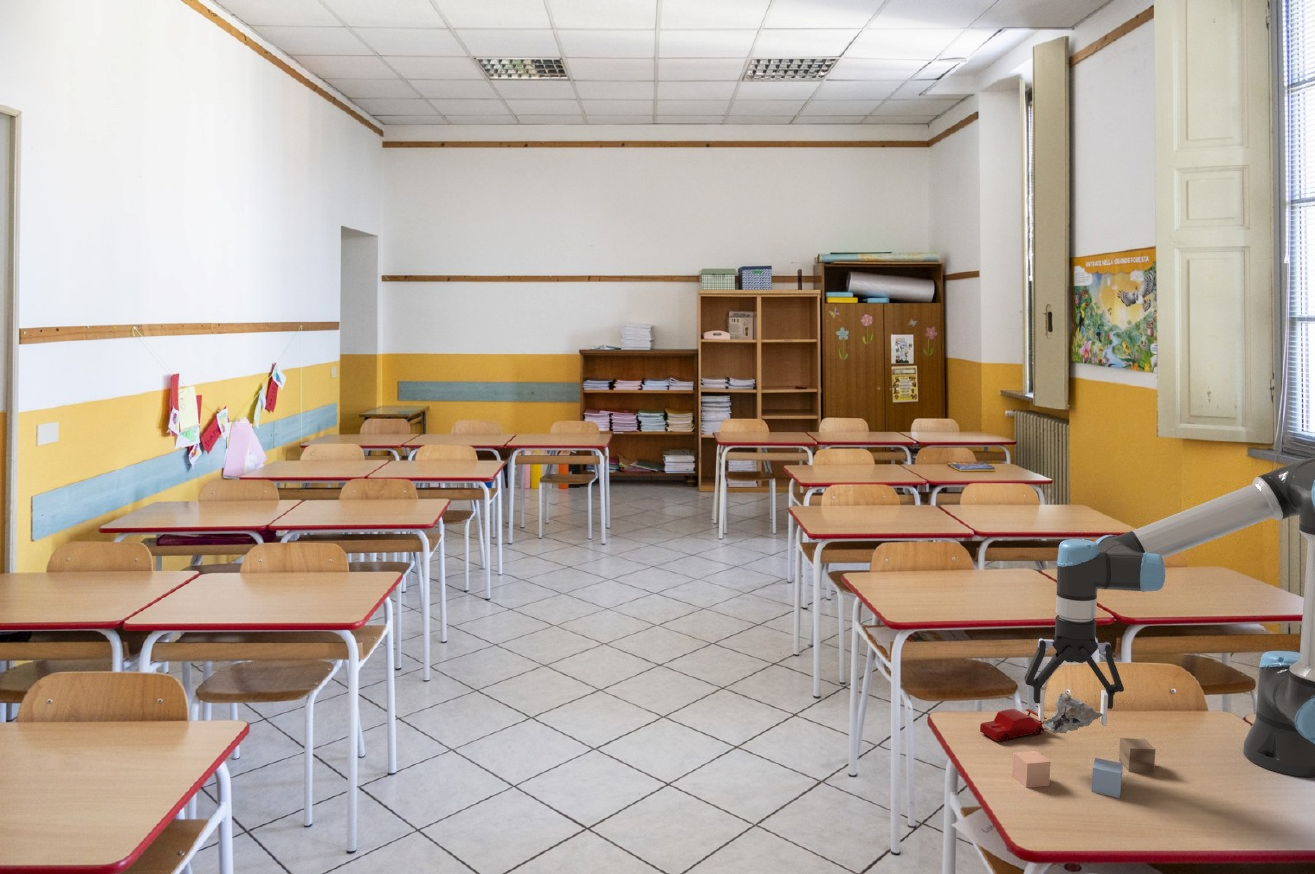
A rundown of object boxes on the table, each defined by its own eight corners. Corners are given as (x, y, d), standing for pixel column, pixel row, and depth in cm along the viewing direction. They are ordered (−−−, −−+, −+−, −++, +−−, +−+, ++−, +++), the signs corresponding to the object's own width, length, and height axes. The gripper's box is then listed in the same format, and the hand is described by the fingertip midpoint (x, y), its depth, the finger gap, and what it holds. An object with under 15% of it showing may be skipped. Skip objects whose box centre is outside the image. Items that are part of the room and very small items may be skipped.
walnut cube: (1143, 761, 202) (1145, 738, 202) (1153, 772, 197) (1155, 749, 197) (1118, 760, 203) (1120, 737, 202) (1128, 771, 198) (1130, 748, 197)
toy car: (1027, 725, 221) (1029, 704, 220) (1046, 735, 215) (1047, 714, 215) (979, 735, 215) (980, 713, 215) (996, 745, 210) (997, 723, 210)
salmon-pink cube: (1034, 774, 196) (1036, 750, 195) (1049, 785, 191) (1050, 761, 191) (1012, 776, 195) (1013, 752, 195) (1026, 787, 190) (1027, 763, 190)
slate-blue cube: (1121, 787, 191) (1122, 763, 190) (1119, 798, 186) (1121, 773, 186) (1093, 781, 193) (1095, 757, 193) (1091, 792, 189) (1092, 767, 188)
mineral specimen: (1059, 747, 201) (1083, 753, 191) (1028, 721, 202) (1051, 726, 192) (1086, 710, 203) (1111, 714, 193) (1055, 684, 203) (1079, 687, 194)
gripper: (1135, 614, 196) (1130, 718, 199) (1011, 607, 202) (1008, 708, 205) (1143, 625, 189) (1139, 733, 192) (1015, 618, 195) (1012, 722, 197)
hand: (1071, 720), depth 198 cm, fingers closed on mineral specimen, 11 cm apart
